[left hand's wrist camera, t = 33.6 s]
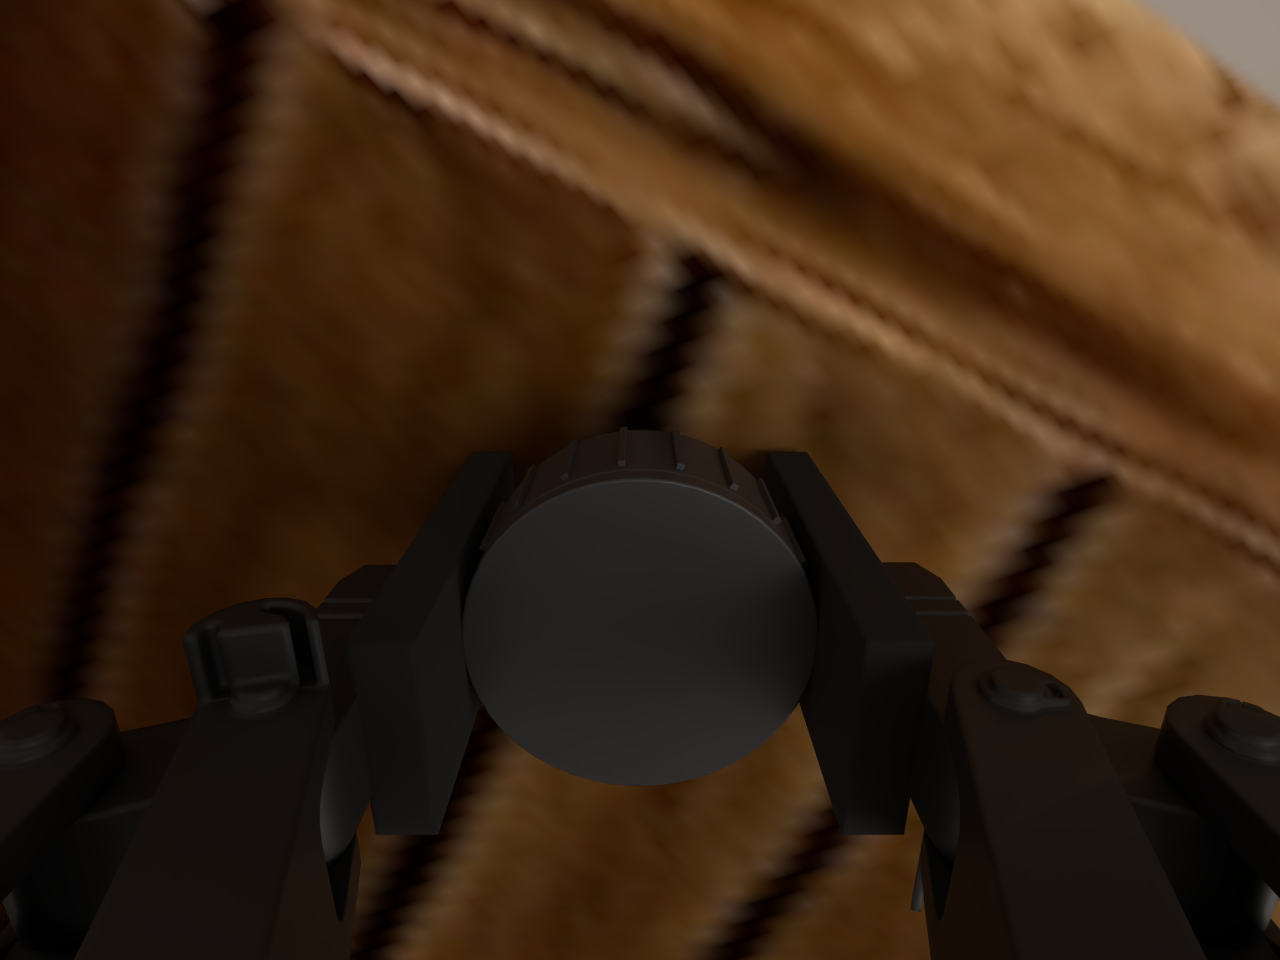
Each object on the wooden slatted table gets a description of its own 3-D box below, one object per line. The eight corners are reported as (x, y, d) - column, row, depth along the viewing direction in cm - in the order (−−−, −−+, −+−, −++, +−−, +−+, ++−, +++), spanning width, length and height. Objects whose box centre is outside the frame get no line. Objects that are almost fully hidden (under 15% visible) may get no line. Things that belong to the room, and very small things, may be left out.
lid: (659, 744, 13) (662, 842, 11) (428, 589, 12) (384, 667, 10) (855, 552, 12) (900, 623, 10) (616, 358, 11) (611, 393, 9)
